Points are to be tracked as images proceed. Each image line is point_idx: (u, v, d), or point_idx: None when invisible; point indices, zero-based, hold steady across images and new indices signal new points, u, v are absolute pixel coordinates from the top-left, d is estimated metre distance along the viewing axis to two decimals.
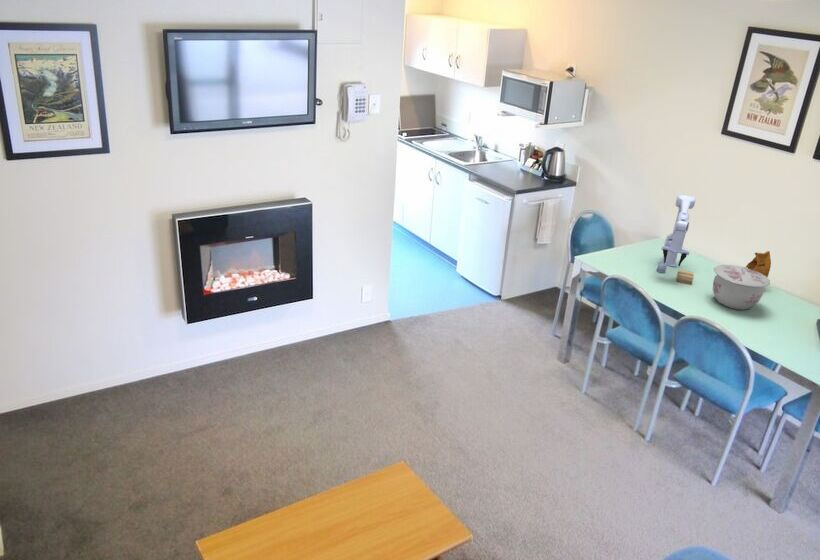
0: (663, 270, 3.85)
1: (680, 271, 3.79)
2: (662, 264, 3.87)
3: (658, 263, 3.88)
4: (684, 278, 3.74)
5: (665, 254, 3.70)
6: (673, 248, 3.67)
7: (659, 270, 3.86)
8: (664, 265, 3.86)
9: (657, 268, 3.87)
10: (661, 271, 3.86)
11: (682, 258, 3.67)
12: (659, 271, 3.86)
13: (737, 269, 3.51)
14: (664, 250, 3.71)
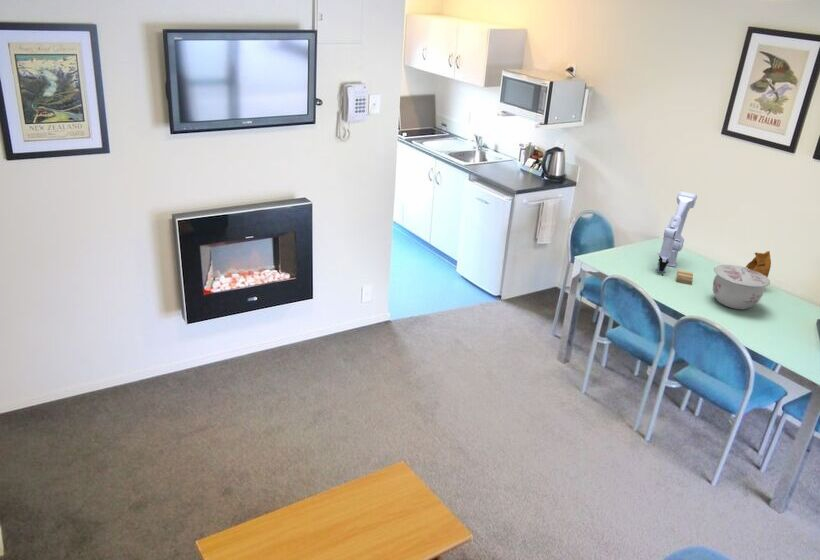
0: None
1: (679, 271, 3.79)
2: None
3: (658, 263, 3.88)
4: (684, 278, 3.74)
5: (659, 257, 3.89)
6: None
7: None
8: None
9: (657, 268, 3.87)
10: (661, 271, 3.86)
11: (659, 262, 3.83)
12: (659, 271, 3.86)
13: (737, 269, 3.51)
14: None
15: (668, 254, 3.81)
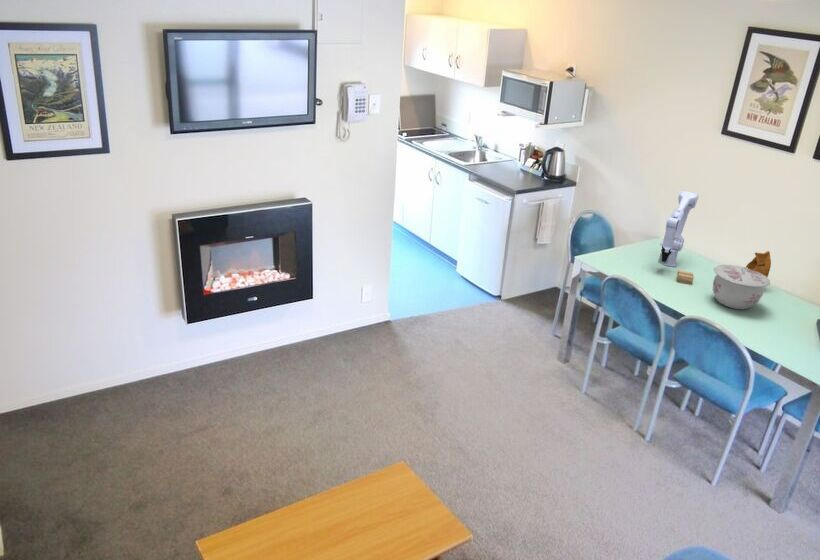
0: (666, 261, 3.83)
1: (680, 271, 3.79)
2: None
3: (660, 254, 3.85)
4: (684, 278, 3.74)
5: (662, 248, 3.87)
6: None
7: None
8: None
9: (659, 259, 3.85)
10: (664, 262, 3.83)
11: None
12: (662, 262, 3.84)
13: (737, 269, 3.51)
14: None
15: (671, 244, 3.78)
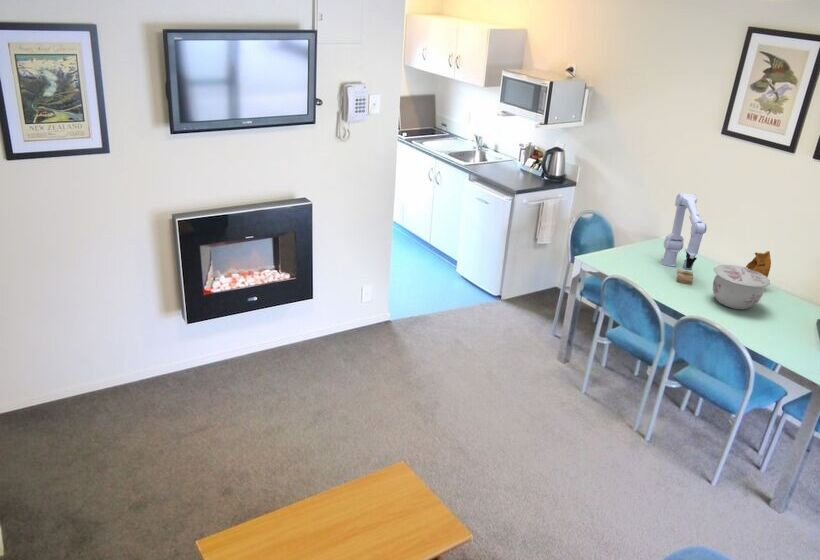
0: None
1: (680, 271, 3.79)
2: None
3: (685, 260, 3.75)
4: (684, 278, 3.74)
5: (686, 253, 3.76)
6: None
7: None
8: None
9: (683, 265, 3.74)
10: (687, 268, 3.73)
11: (686, 258, 3.70)
12: (685, 268, 3.73)
13: (737, 269, 3.51)
14: None
15: (696, 250, 3.68)
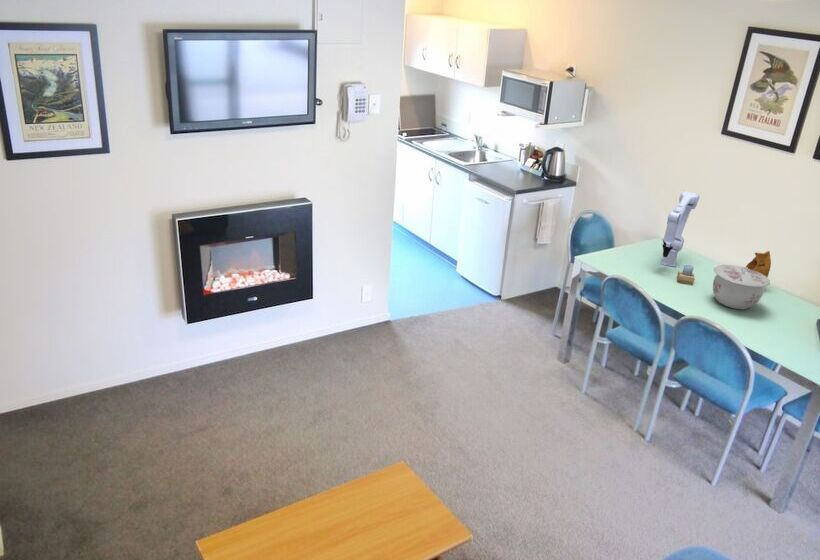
0: (690, 272, 3.73)
1: (681, 272, 3.78)
2: (689, 266, 3.74)
3: (684, 265, 3.75)
4: (685, 279, 3.73)
5: (663, 242, 3.87)
6: None
7: (686, 272, 3.74)
8: (691, 267, 3.73)
9: (683, 270, 3.75)
10: (687, 273, 3.74)
11: (663, 247, 3.79)
12: (685, 273, 3.74)
13: (737, 269, 3.51)
14: None
15: (672, 239, 3.78)
